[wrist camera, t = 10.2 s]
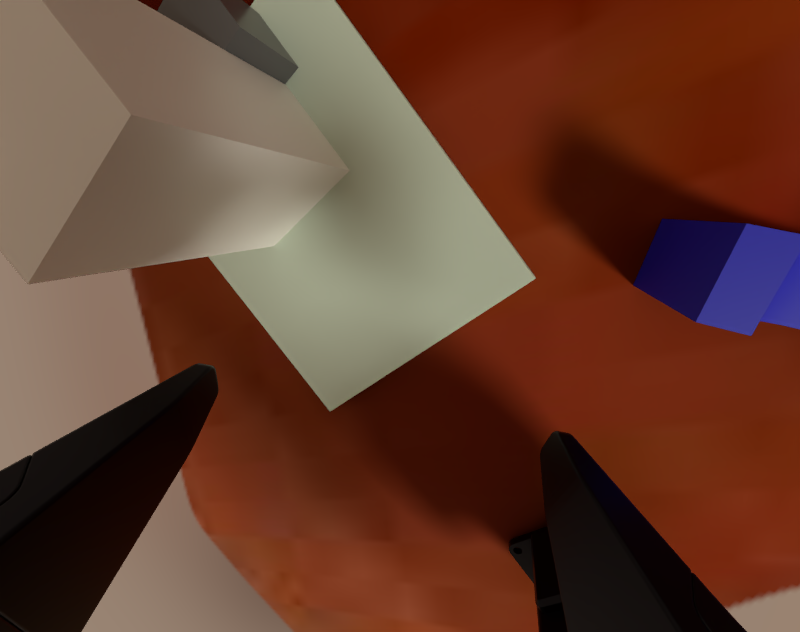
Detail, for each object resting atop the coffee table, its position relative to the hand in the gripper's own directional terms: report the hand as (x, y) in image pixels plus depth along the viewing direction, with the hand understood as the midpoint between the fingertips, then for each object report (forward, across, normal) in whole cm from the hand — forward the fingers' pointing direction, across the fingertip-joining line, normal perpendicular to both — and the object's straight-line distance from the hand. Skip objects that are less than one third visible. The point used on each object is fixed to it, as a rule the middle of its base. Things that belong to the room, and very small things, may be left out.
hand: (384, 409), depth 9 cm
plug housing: (+12, +7, -2) cm, 15 cm away
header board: (+12, +5, 0) cm, 13 cm away
